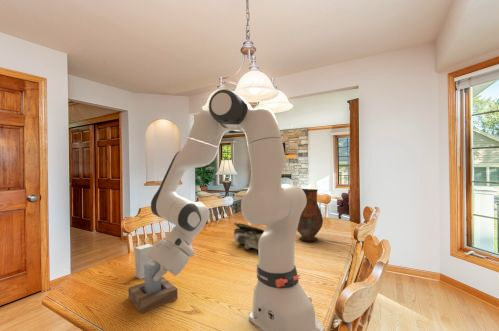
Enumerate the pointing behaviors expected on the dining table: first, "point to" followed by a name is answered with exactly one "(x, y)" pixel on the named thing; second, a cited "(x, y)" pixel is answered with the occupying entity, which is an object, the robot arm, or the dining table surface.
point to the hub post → (150, 284)
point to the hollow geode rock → (247, 235)
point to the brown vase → (310, 217)
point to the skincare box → (142, 259)
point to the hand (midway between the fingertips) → (150, 277)
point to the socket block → (152, 296)
